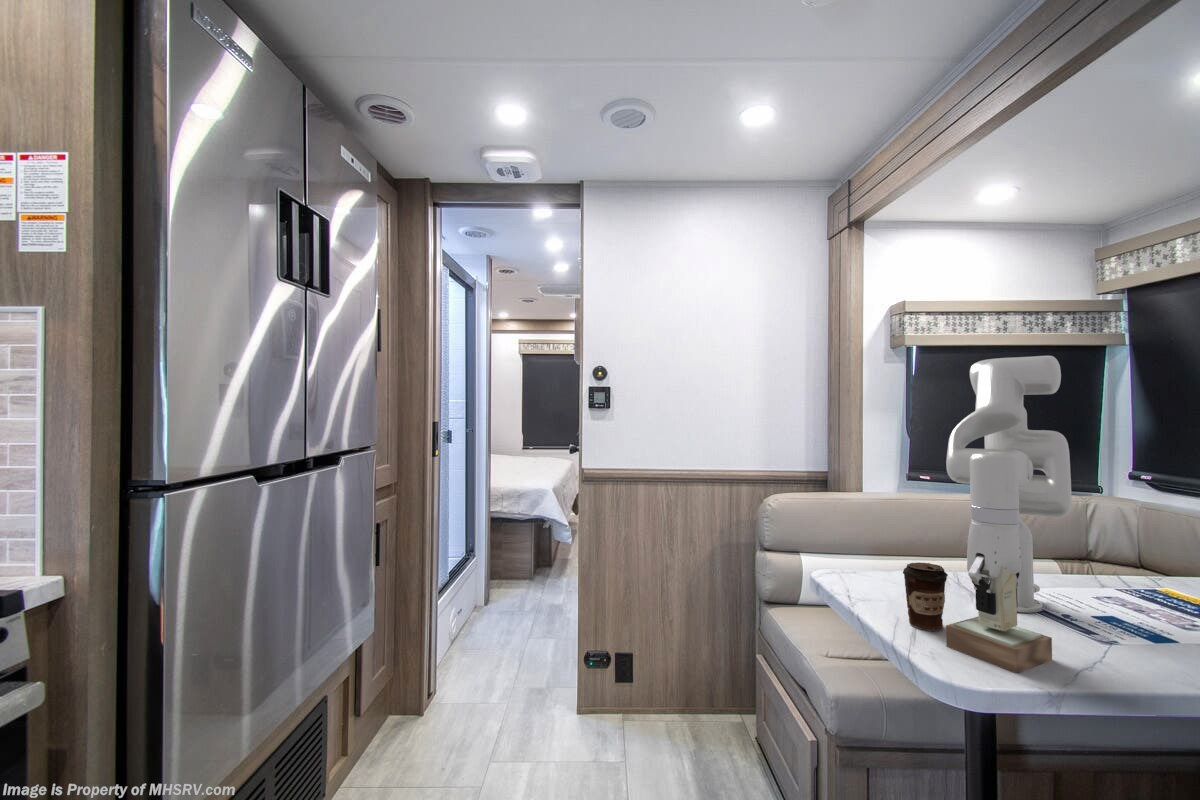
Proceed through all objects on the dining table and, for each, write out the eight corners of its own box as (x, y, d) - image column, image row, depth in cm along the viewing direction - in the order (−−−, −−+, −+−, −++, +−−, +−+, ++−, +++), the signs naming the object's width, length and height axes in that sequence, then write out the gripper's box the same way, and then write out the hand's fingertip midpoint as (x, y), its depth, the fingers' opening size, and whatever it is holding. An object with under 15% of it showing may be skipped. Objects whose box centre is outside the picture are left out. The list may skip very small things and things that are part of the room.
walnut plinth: (982, 635, 108) (981, 613, 108) (1052, 659, 97) (1051, 635, 97) (946, 646, 103) (945, 623, 103) (1016, 673, 92) (1015, 647, 92)
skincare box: (1004, 632, 97) (1003, 566, 97) (977, 624, 100) (975, 561, 101) (1018, 625, 100) (1016, 561, 100) (991, 617, 104) (989, 556, 104)
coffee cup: (957, 636, 107) (955, 572, 108) (913, 632, 109) (911, 570, 110) (938, 620, 116) (937, 561, 116) (898, 617, 118) (897, 559, 118)
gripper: (998, 509, 108) (1000, 596, 107) (947, 516, 100) (949, 610, 100) (1041, 515, 101) (1044, 608, 101) (989, 523, 94) (992, 624, 93)
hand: (996, 608), depth 100 cm, fingers closed on skincare box, 6 cm apart
